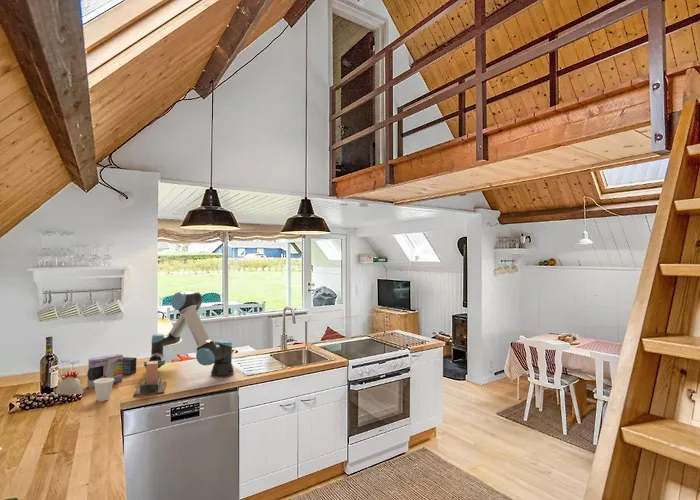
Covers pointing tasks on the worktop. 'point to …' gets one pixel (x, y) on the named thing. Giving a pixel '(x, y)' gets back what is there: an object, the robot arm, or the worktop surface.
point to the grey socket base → (150, 388)
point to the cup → (103, 388)
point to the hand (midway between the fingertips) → (151, 369)
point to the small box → (129, 366)
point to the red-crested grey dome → (70, 385)
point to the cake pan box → (105, 368)
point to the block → (152, 372)
